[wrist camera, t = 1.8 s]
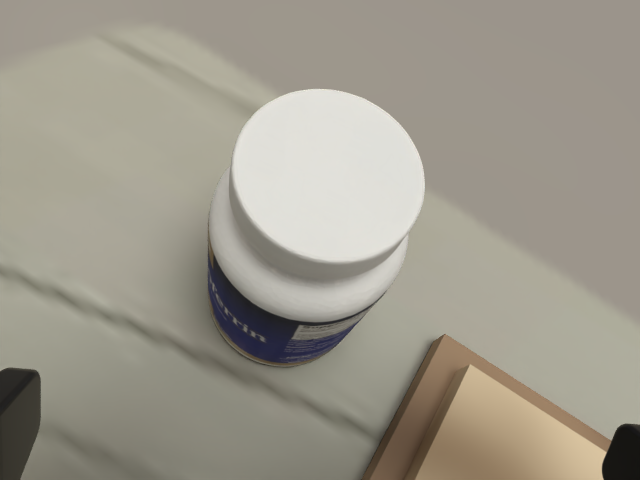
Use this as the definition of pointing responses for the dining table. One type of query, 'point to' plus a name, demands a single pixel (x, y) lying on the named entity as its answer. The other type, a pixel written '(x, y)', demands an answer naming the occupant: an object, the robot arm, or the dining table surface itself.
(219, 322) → the pill bottle
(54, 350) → the dining table surface
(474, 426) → the stand
